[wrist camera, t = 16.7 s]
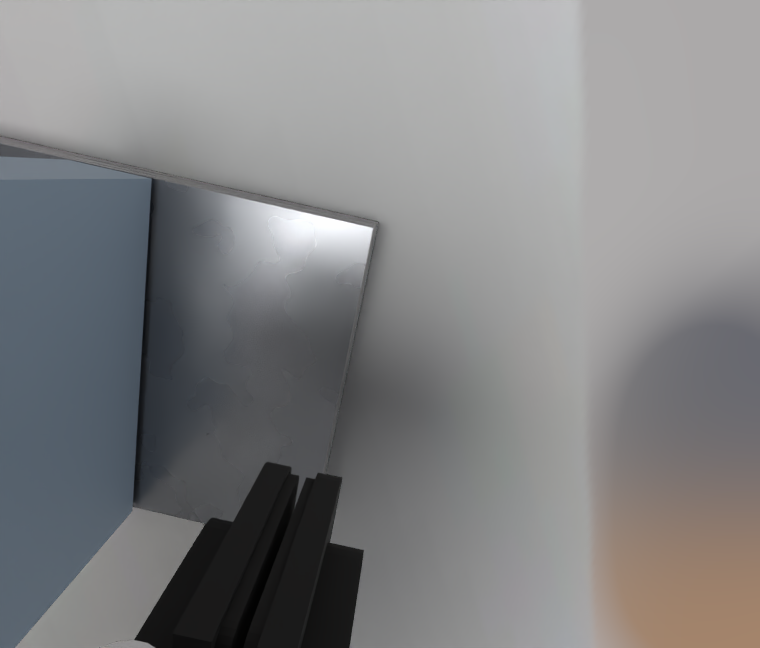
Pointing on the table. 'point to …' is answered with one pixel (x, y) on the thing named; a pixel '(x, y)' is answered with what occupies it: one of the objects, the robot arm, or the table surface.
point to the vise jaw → (66, 371)
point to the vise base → (236, 337)
